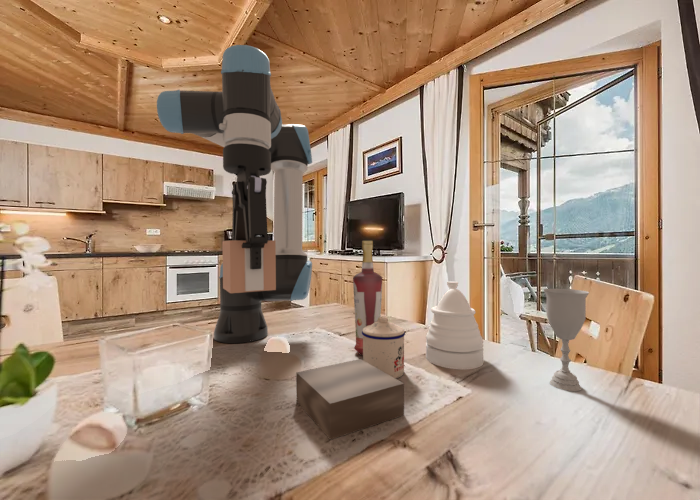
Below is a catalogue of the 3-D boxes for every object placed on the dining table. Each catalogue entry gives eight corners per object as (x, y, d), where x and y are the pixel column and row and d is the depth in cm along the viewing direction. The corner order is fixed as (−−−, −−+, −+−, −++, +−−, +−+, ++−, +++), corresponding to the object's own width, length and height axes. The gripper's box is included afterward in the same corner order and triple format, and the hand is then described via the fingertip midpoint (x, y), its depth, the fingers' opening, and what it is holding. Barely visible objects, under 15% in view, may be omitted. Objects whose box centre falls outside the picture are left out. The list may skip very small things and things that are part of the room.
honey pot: (424, 349, 84) (423, 279, 84) (476, 351, 82) (476, 280, 82) (428, 367, 72) (427, 285, 71) (489, 371, 70) (489, 286, 69)
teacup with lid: (404, 382, 64) (404, 323, 64) (358, 379, 66) (358, 321, 66) (406, 361, 75) (406, 311, 75) (367, 358, 77) (367, 309, 77)
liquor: (385, 357, 78) (385, 240, 78) (355, 358, 77) (354, 240, 77) (379, 347, 86) (378, 241, 85) (351, 349, 85) (350, 241, 84)
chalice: (539, 385, 62) (539, 291, 62) (547, 374, 67) (547, 287, 67) (586, 397, 57) (586, 294, 57) (591, 385, 62) (591, 290, 62)
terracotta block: (222, 288, 55) (222, 241, 55) (264, 285, 59) (263, 241, 59) (230, 293, 49) (229, 240, 49) (275, 289, 53) (275, 240, 53)
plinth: (296, 401, 56) (296, 372, 56) (360, 384, 63) (360, 359, 63) (330, 439, 45) (330, 403, 45) (404, 415, 52) (403, 383, 52)
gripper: (214, 159, 61) (215, 283, 61) (235, 124, 43) (237, 297, 44) (255, 164, 64) (256, 280, 65) (289, 134, 47) (290, 293, 47)
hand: (248, 287), depth 54 cm, fingers closed on terracotta block, 7 cm apart
